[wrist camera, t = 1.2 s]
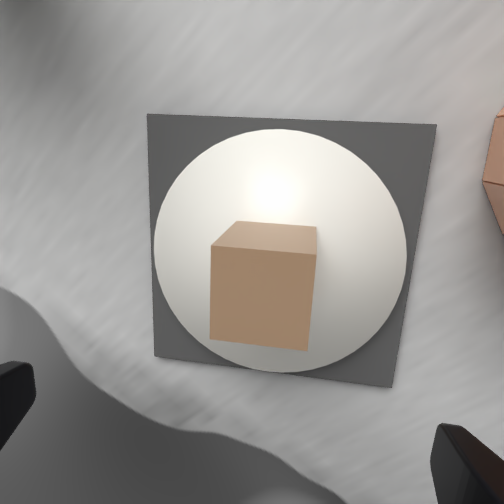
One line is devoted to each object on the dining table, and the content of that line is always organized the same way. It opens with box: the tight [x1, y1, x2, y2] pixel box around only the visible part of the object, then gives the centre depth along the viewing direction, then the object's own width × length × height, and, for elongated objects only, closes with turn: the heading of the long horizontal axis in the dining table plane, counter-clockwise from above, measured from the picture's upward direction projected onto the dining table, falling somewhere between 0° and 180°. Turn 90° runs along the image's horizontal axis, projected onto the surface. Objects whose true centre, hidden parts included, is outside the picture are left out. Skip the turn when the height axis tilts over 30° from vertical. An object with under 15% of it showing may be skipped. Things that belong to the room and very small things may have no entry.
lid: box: [154, 129, 407, 373], centre depth 17 cm, size 13×13×6 cm
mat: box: [147, 114, 437, 388], centre depth 20 cm, size 14×14×1 cm
